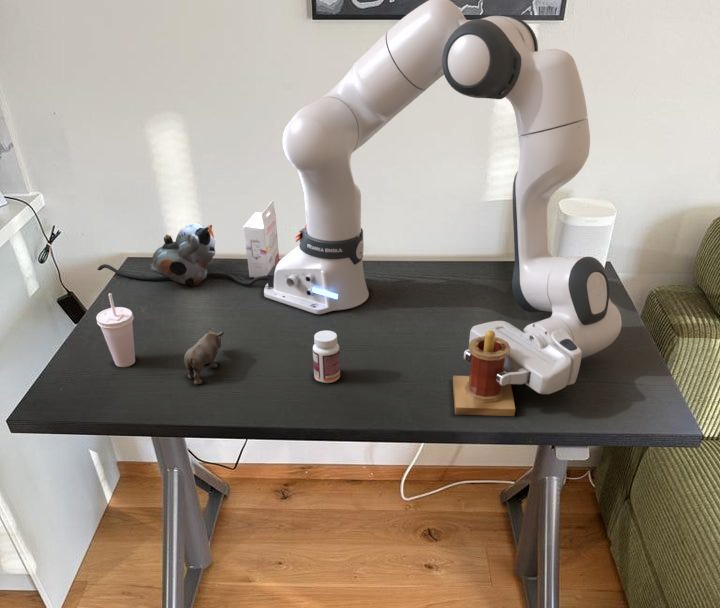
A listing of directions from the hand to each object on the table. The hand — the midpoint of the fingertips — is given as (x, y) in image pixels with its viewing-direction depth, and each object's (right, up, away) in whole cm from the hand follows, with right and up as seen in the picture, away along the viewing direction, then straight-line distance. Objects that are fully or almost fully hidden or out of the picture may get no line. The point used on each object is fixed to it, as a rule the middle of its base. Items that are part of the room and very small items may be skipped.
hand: (482, 368), depth 128 cm
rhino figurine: (-49, +2, +13) cm, 51 cm away
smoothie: (-65, +3, +14) cm, 66 cm away
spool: (+1, -3, +4) cm, 5 cm away
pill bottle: (-27, 0, +10) cm, 28 cm away
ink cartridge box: (-42, +29, +45) cm, 68 cm away
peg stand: (+1, -5, +5) cm, 7 cm away
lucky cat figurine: (-60, +27, +43) cm, 78 cm away
